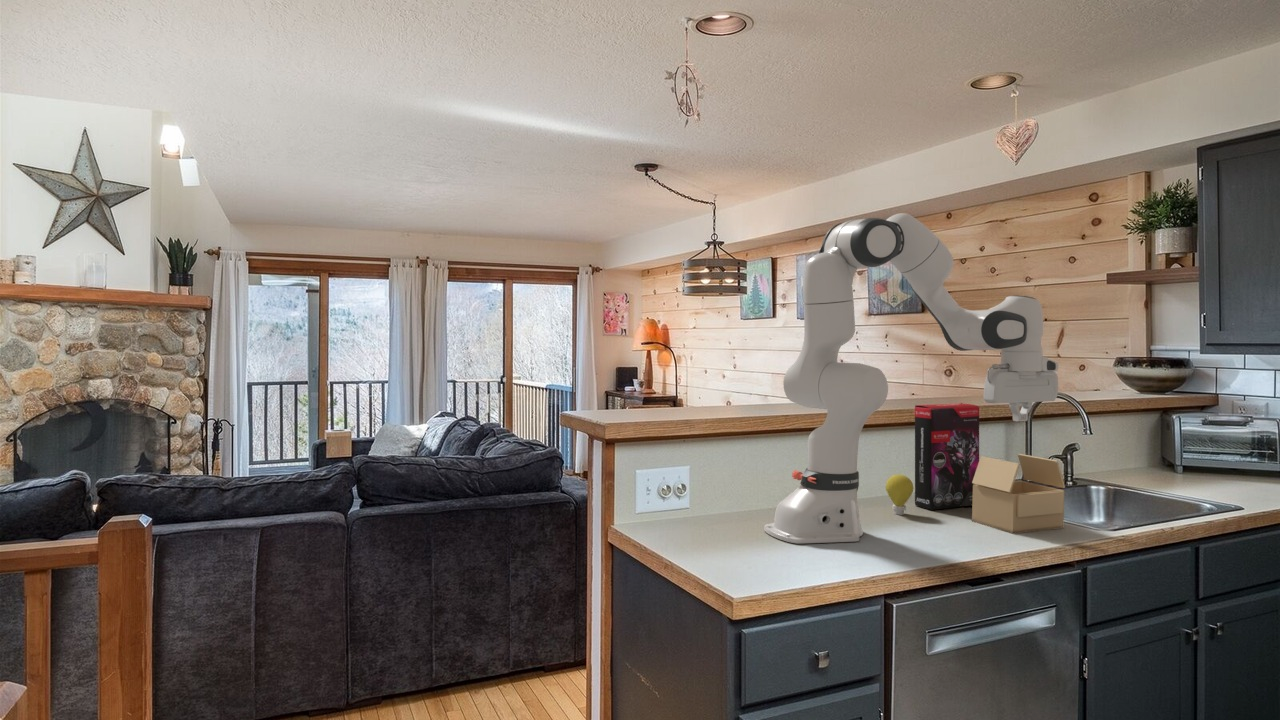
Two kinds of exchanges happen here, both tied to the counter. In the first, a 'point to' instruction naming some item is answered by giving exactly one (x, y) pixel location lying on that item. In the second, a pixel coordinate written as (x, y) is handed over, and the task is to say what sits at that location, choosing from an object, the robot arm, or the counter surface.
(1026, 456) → the flap far
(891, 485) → the light bulb
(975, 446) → the graphics card box
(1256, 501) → the counter surface
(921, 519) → the counter surface
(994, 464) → the flap near
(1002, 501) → the carton
